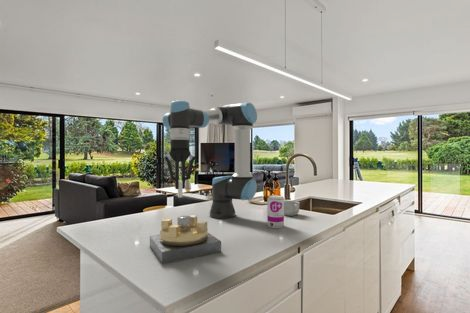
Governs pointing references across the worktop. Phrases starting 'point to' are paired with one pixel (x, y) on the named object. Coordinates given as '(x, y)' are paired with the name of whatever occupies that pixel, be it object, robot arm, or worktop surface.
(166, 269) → the worktop surface
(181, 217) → the ring nut
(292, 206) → the teacup
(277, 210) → the supplement can
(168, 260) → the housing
